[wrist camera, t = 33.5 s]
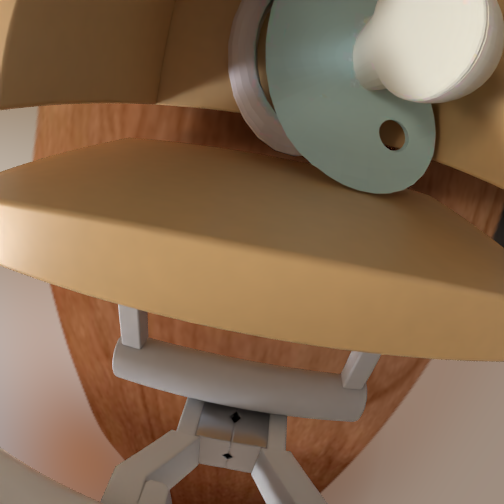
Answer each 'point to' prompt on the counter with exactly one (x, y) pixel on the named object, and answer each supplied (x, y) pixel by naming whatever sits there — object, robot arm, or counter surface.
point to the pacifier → (360, 78)
